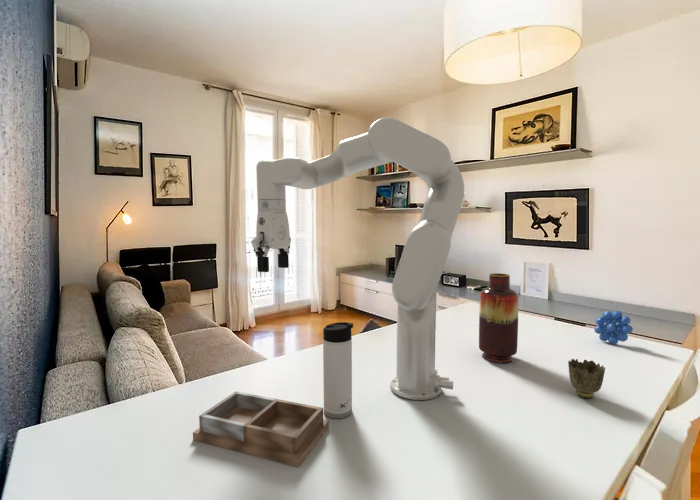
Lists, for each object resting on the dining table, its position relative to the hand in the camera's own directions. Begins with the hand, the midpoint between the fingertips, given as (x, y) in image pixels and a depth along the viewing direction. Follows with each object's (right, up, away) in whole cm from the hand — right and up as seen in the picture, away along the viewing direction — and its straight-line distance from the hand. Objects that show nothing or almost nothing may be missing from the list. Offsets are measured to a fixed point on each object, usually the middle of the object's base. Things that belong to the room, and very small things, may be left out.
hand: (273, 269), depth 100 cm
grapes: (+112, -27, +26) cm, 118 cm away
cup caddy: (+4, -31, -28) cm, 42 cm away
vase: (+67, -28, +13) cm, 74 cm away
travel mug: (+18, -31, -19) cm, 41 cm away
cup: (+78, -30, -13) cm, 84 cm away
